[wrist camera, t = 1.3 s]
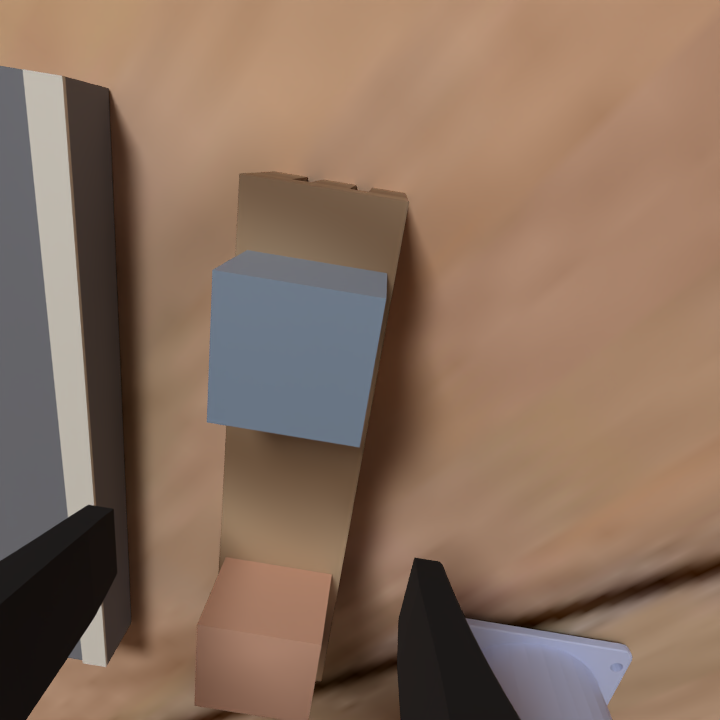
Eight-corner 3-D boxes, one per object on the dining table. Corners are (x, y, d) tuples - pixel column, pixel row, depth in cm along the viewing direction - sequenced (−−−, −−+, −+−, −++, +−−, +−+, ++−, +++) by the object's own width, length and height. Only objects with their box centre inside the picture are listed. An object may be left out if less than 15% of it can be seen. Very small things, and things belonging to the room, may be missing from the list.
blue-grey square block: (365, 398, 13) (360, 447, 11) (239, 377, 13) (206, 422, 11) (387, 273, 12) (386, 298, 10) (247, 249, 12) (212, 269, 10)
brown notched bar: (333, 591, 21) (321, 681, 18) (244, 577, 21) (213, 663, 18) (404, 192, 15) (408, 201, 11) (277, 171, 15) (239, 173, 11)
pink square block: (318, 648, 17) (307, 724, 15) (221, 632, 17) (194, 705, 15) (331, 574, 16) (321, 645, 13) (225, 557, 16) (196, 624, 13)
